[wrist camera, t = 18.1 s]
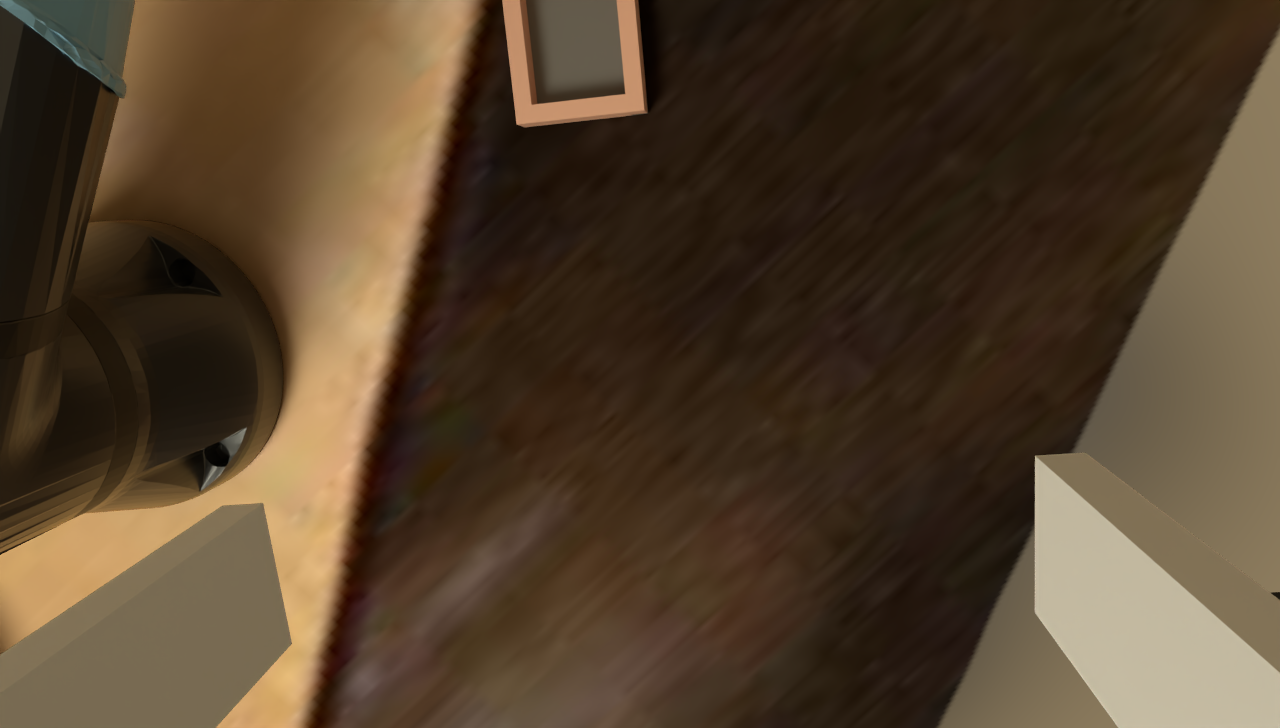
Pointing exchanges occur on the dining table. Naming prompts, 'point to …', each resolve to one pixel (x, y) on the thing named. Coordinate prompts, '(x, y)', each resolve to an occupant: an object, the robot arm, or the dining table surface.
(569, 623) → the dining table surface
